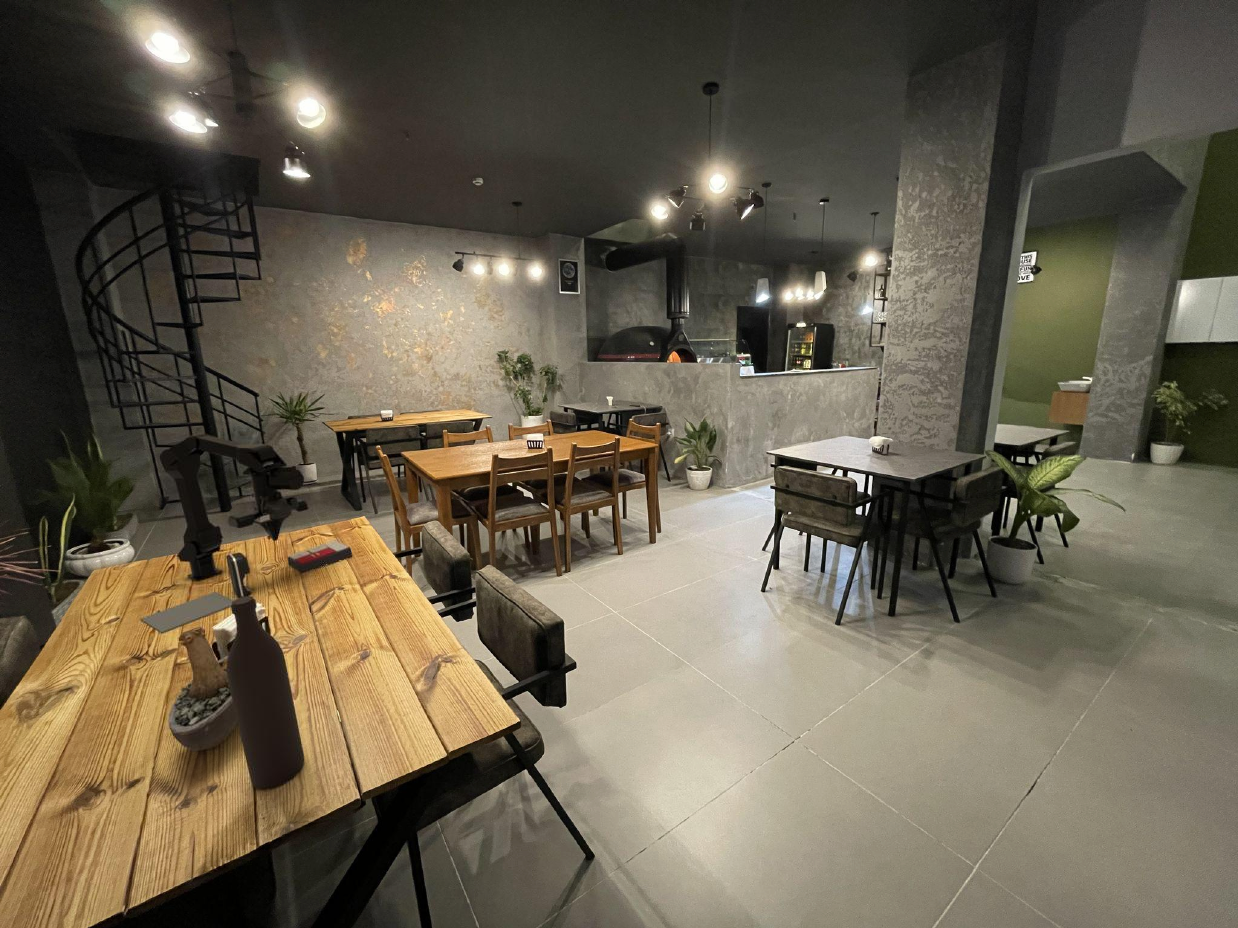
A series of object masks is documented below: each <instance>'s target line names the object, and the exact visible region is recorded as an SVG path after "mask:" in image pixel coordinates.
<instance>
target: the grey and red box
mask: <svg viewBox="0 0 1238 928" xmlns="http://www.w3.org/2000/svg"><path fill="white" fill-rule="evenodd" d="M346 558H348V559H351V558H353V553H352V548H351V546H348V545H346V544H344V543H343V542H340V541H338V540H331V541H329V542H327V543H324V544H323V543H322V544H319V545H315V546H313V547H310V548H307V549H306V550H305V549H304V550H302V551H299V552H295V553H293V554H289V555H288V557H287V561H288V562H287V563H288V565H289V567H291V568H293V569H294V570H296V571H298V572H299V573H301V574H305V573H308V572H311V571H310V570H312V569H315V570H317V569H316V568H318V569H320V568H319V567H321V566H324V565H326V564H329V565H331V563H332V564H334V563H336V561H337V562H340V561H339V560H342V561H345V560H347V559H346ZM344 559H345V560H344ZM326 566H327V565H326ZM324 567H325V566H324ZM321 568H322V567H321ZM307 571H308V572H307ZM312 571H313V570H312ZM304 572H305V573H304Z"/></svg>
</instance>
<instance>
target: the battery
mask: <svg viewBox="0 0 1238 928" xmlns="http://www.w3.org/2000/svg"><path fill="white" fill-rule="evenodd" d="M225 558H226V564H227V568H228V573H229V577H230V581H231V586H232V590H233V592H234V593H235V595H236V596H237V597H238V598H241V597H245V596H250V594H252V591H251V589H250V587H249V586H248V585H245V583H244V579H245V577H246V575H248V574H250V573H251V569H250V565H249V561H248V559H247V557H246V556H245V555H244V554H243V553H242V552H235V553H229V554H227V555H226V557H225Z"/></svg>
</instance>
